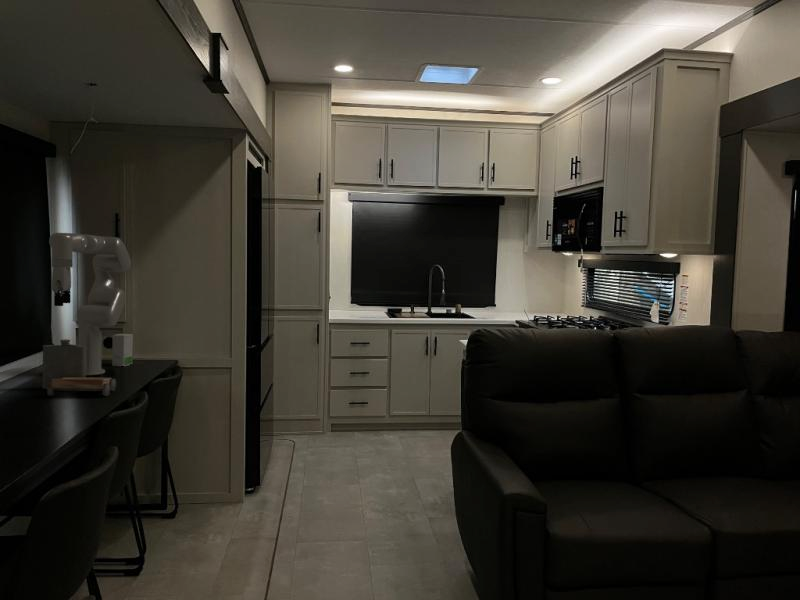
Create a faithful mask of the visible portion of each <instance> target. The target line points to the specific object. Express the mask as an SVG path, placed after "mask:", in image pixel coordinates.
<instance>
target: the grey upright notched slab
mask: <svg viewBox="0 0 800 600" xmlns="http://www.w3.org/2000/svg"><path fill="white" fill-rule="evenodd" d="M59 343H60V344H43V345H42V389H44V390H47V388H48V385H49V383H52V379H58V378H64V377H86V375H85V369H86V346H79V344H73V343H72V344H71V339H60V340H59Z"/></svg>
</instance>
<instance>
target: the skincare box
mask: <svg viewBox="0 0 800 600" xmlns="http://www.w3.org/2000/svg"><path fill="white" fill-rule="evenodd" d="M133 335H134V333H117V334H112V348H111V349H112V354H111V355H112V356H111V357H112V358H111V361H112V362H111V366H113V367H121V366H124V367H127V366H131V365H130V364H132V365H133V347H134V346H133V345H134V344H133V343H134V341H133V339H134V338H133V337H134V336H133Z"/></svg>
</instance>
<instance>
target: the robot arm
mask: <svg viewBox="0 0 800 600" xmlns="http://www.w3.org/2000/svg"><path fill="white" fill-rule="evenodd" d="M48 239H49V240H48V242H49V246H50V248H51V267H52V274H51V275H52V277H51V291H53V295H54V296H53V297H54V298H53V299H54V301H53V303H54V305H53V306H55V307H63V306H64V304H71V301H72V300H71V288H72V273H71V272H72V270H71V269H72V268H74V263H73V262H74V261H73V259H74V257H73V256H74V255H73V252H74V253H80V254H88V255H89V254H90V255H94V256H93V259H92V267H93V271H94V275H95V280H94V282H93V284H92V287H91V289H90V292H89V294H88V297H87V302H88V304H86V305H85V304H84V305H82V306H80V307H79V308H78V309H77V310H76V320H77V327H78V345H79V346H86V369H85V376H96V375H98V376H99V375H102V374H104V373H106V369H104V368H102V360H103V359H102V358H103V357H102V356H103V355H102V354H103V352H102V351H103V350H102V349H103V346H102V345H103V336H102V332H101V330H100V328H99V327H114V326H115V325H117V323H118V321H119V319H120V316H121V314H122V311H123V309H124V307H125V303H126V293H125V291H124V290H123V289H122V288H118V287H114V286H115V279H114V278H113V277H112V276H111V274H110V273H109V272H117V273H125V272H128V271H129V270H130V269H131V266H132V260H131V256H130V255H129V252H128V249H127V248H126V246H125V244H124V242H123V241H122V239H121V238H119V237H115V236H102V235H101V236H99V235H94V234H81V233H71V232H69V233H68V232H54V233H52V234H51V235H50V237H49V238H48Z"/></svg>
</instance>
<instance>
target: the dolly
mask: <svg viewBox="0 0 800 600" xmlns="http://www.w3.org/2000/svg"><path fill="white" fill-rule="evenodd" d="M116 387H117V380H116V378H112V377H93V376H92V377H90V376H89V377H86V376H85V377H64V378H58V379H52V383H49V385H48V388H47V389H46V392H47V393H46V394H47V396H48V397H54V396H55V395H56V393H57V392H102V396H103V397H109V396H110V393H111V392H115V391H116V389H117V388H116ZM108 395H109V396H108Z"/></svg>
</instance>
